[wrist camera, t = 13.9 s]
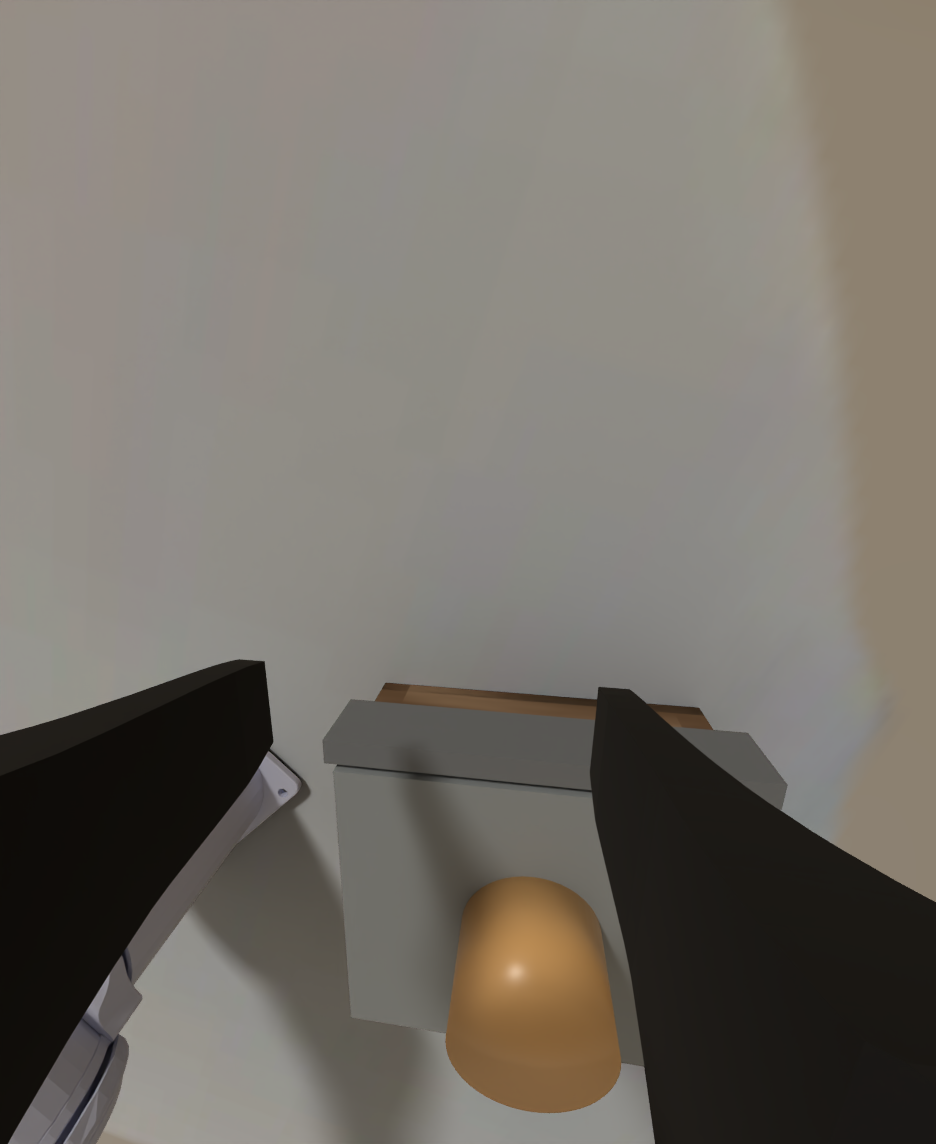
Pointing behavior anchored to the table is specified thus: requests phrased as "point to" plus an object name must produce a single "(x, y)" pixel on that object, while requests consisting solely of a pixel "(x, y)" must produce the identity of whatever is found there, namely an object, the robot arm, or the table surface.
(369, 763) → the lid
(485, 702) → the box
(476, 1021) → the orange rounded block
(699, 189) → the table surface
